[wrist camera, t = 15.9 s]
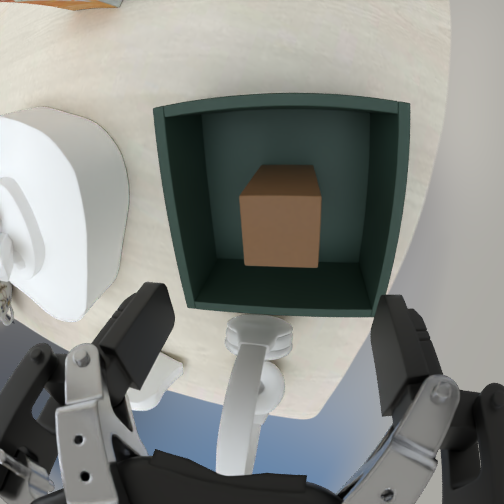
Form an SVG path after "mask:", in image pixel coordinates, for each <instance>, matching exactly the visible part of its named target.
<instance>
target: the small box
mask: <svg viewBox="0 0 504 504" xmlns="http://www.w3.org/2000/svg"><path fill="white" fill-rule="evenodd" d="M0 2H17V3H29V4H38V5H46V6H53V7H58V8H63V9H68V10H80V9H91V8H118V7H120V4H121V2H122V0H0Z"/></svg>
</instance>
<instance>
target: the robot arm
mask: <svg viewBox="0 0 504 504" xmlns="http://www.w3.org/2000/svg"><path fill="white" fill-rule="evenodd" d="M174 322H175V314H174V310H173V307H172V304H171V300H170V297H169V293H168V290H167V287H166V285H165V284H163V283H153V282H146V283H144V284H143V286H142V287H141V288H140V289H139V291H138V292H137V293H134V294H133V295H131V296H130V297H128V298H127V299H126V300H124V301H123V303H122V304H121V305H120V307H119V308H118V311H116V312H115V313H114V314H113V315H112V318H110V319H109V321H108V322H107V323H106V325H105V326H104V327H103V329H102V330H101V331H100V333H99V334H98V335H97V337H96V338H95V339H94V341H93V342H92V343H91V344H90V343H84V344H80V345H78V346H76V347H74V348H73V349H72V350H71V351H70V352H69V353H68V354H55V353H54V352H53V351H52V349H51V347H50V346H49V345H48V344H46V343H39V344H37V345H35V346H33V347H32V348H31V349H30V350H29V351H28V352H27V354H26V355H25V356H24V358H23V359H22V360H21V362H20V363H19V365H18V366H17V368H16V369H15V371H14V372H13V374H12V375H11V376H10V378H9V379H8V381H7V383H6V384H5V386H4V387H3V389H2V390H1V392H0V497H1V498H2V499H3V500H4V501H5V502H6V503H7V504H415V503H416V501H417V500H418V498H419V497H420V495H421V494H422V492H423V490H424V489H425V487H426V486H427V484H428V482H429V480H430V479H431V477H432V475H433V473H434V471H435V469H436V467H437V464H438V461H437V460H436V459H435V457H436V454H437V452H438V450H439V449H441V459H442V483H443V484H442V495H443V496H442V497H443V498H442V504H504V386H503V385H501V384H498V383H491V384H489V385H487V386H486V387H485V388H484V389H483V391H482V392H481V393H477V392H470V391H463V390H459V388H458V385H457V384H456V383H455V381H454V380H452V379H451V378H449V377H448V376H445V375H443V373H442V370H441V367H440V364H439V361H438V358H437V355H436V352H435V349H434V347H433V344H432V342H431V340H430V336H429V333H428V332H427V331H426V330H427V328H426V326H425V323H424V321H423V319H422V317H421V316H420V315H419V314H418V313H417V312H416V311H415V310H414V309H408V308H407V306H406V303H405V301H404V299H403V297H402V295H381V297H380V299H379V302H378V306H377V310H376V313H375V317H374V320H373V324H372V327H371V345H372V351H373V356H374V362H375V368H376V375H377V381H378V388H379V395H380V404H381V413H382V416H392V418H393V424H392V425H391V426H390V428H389V429H388V431H387V432H386V434H385V435H384V437H383V438H382V440H381V441H380V443H379V444H378V445H377V447H376V448H375V449H374V451H373V452H372V453H371V455H370V456H369V457H368V459H367V460H366V461H365V462H364V464H363V465H362V466H361V467H360V468H359V470H358V471H357V472H356V473H355V474H354V475H353V476H352V477H351V478H350V479H349V480H348V481H347V482H346V484H345V485H344V486H343V487H342V488H341V489H340V490H339V491H338V492H337V493H336V494H334V493H333V492H331V491H330V490H328V489H326V488H324V487H322V486H319V485H317V484H314V483H310V482H306V478H307V476H306V475H288V474H273V473H262V474H251V475H236V476H225V475H221V474H219V473H216V472H214V471H212V470H210V469H207V468H206V467H204V466H202V465H200V464H198V463H196V462H194V461H192V460H190V459H187V458H183V457H180V456H176V455H172V454H169V453H166V452H163V451H160V450H157V449H155V451H154V454H153V456H149V454H148V452H147V450H146V448H145V446H144V444H143V443H142V441H141V440H140V438H139V435H138V432H137V429H136V425H135V421H134V417H133V414H132V410H131V405H130V401H129V397H128V395H127V393H126V392H127V390H128V389H129V387H130V388H133V389H136V390H141V388H142V386H143V384H144V382H145V380H146V378H147V376H148V374H149V372H150V370H151V368H152V366H153V365H154V363H155V361H156V359H157V357H158V355H159V353H160V351H161V349H162V348H163V346H164V344H165V342H166V340H167V338H168V336H169V334H170V333H171V331H172V329H173V326H174ZM43 388H45V389H46V391H47V392H48V393H49V394H50V395H51V396H50V397H49V399H48V401H47V403H46V405H45V406H44V408H43V410H42V412H41V413H40V415H39V417H38V419H37V420H35V419H34V418H33V416H32V413H31V412H32V407H33V405H34V403H35V401H36V400H37V398H38V396H39V395H40V393H41V391H42V390H43ZM478 444H479V449H478ZM479 452H480V457H479ZM57 455H58V456H59V462H60V470H61V476H62V482H63V487H64V488H63V489H61V490H58V491H55V492H53V493H50V494H48V491H49V492H52V491H53V490H54V483H53V482H52V481H51V480H50V479H49V474H50V472H51V469H52V467H53V465H54V462H55V460H56V458H57ZM480 460H481V466H480Z"/></svg>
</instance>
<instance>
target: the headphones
mask: <svg viewBox="0 0 504 504" xmlns="http://www.w3.org/2000/svg"><path fill="white" fill-rule="evenodd" d="M227 325H228V327H227V329H226V338H225V346H226V348H227V349H228V350H229V351H230V352H231V353H233V354H234V355H237V357H236V360H235V363H234V366H233V369H232V372H231V376H230V380H229V383H228V387H227V391H226V395H225V400H224V405H223V410H222V415H221V420H220V426H219V433H218V440H217V454H216V473H219V474H221V475H225V476H236V475H251V474H252V471H253V467H254V462H255V457H256V451H257V446H258V441H259V435H260V429H261V424H264V422H265V420H266V418H267V416H268V414H269V412H271V411H273V410H274V409H275V408H276V406H277V405H278V404H279V403H280V401H281V400H282V398H283V395H284V392H285V380H284V377H283V375H282V373H281V371H280V370H279V368H278V367H277V366H275V365H274V364H273V363H271V362H269V361H266V360H275V359H279V358H282V357H284V356H286V355H287V354H289V353H290V351H291V350H292V339H293V333H292V331H293V327H292V325H291V324H290V323H288V322H286V321H285V320H283V319H281V318H278V317H274V316H269V315H261V314H246V315H240V316H237V317H235V318H232V319H230V320H229V321H228V323H227Z"/></svg>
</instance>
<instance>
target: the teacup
mask: <svg viewBox="0 0 504 504" xmlns="http://www.w3.org/2000/svg"><path fill="white" fill-rule="evenodd" d="M11 299H12V284H11V282H10V281H8V282H5V281H0V321H2V322H3V324H5V325H10V324H11V322H12V321H13V317H14V312H13V309H12V307H11ZM9 308H10V311H11V320H10V321H6V320H5V316H6V314H7V312H8V310H9Z"/></svg>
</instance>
